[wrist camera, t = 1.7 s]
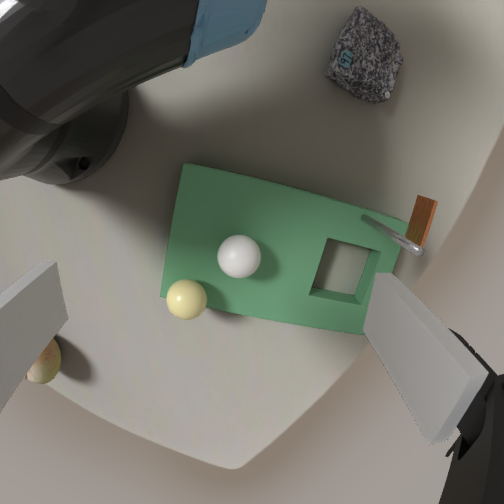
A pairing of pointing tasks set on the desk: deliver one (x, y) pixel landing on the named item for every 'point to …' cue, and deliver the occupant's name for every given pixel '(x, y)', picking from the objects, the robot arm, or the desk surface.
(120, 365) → the desk surface
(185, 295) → the ball
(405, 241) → the pin
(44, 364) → the fruit
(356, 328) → the green board with hole
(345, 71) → the rock
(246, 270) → the ball
